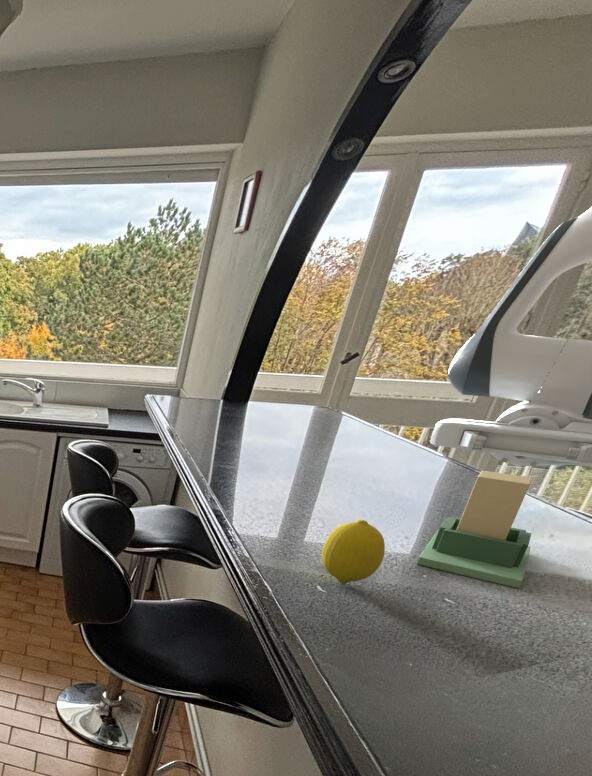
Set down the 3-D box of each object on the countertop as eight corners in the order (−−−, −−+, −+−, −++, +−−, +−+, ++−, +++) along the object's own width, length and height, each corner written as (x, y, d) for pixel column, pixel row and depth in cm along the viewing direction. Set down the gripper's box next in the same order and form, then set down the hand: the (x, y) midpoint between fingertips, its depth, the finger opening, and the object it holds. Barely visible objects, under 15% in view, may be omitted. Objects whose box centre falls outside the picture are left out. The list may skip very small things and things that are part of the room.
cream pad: (453, 541, 80) (482, 470, 76) (499, 551, 76) (532, 477, 73) (448, 550, 77) (477, 476, 73) (496, 560, 74) (530, 484, 70)
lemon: (347, 596, 67) (370, 530, 64) (302, 576, 72) (321, 514, 69) (383, 590, 68) (407, 526, 65) (337, 571, 73) (357, 510, 70)
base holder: (436, 534, 85) (446, 508, 83) (527, 553, 79) (540, 525, 77) (416, 564, 75) (427, 535, 74) (518, 588, 69) (533, 557, 67)
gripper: (444, 406, 95) (430, 416, 86) (645, 423, 80) (652, 437, 72) (431, 445, 97) (416, 458, 89) (623, 468, 83) (627, 487, 74)
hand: (523, 449), depth 80 cm, fingers open, 8 cm apart
